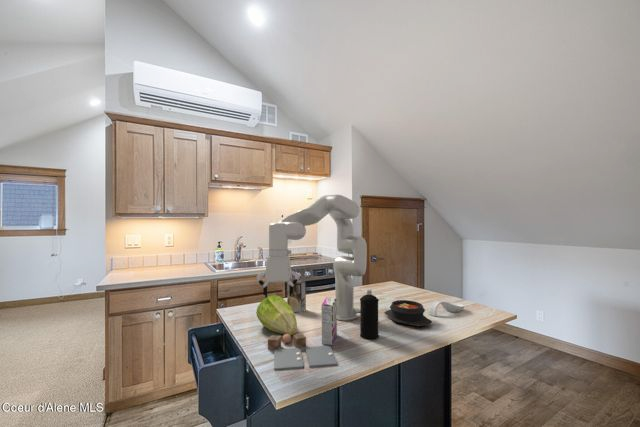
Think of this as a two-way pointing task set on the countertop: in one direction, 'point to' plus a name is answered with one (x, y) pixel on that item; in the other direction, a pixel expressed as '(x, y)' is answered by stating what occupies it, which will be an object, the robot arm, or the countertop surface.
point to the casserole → (408, 313)
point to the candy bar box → (329, 321)
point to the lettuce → (277, 315)
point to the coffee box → (297, 297)
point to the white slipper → (447, 305)
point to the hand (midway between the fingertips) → (278, 296)
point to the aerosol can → (369, 316)
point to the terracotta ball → (286, 338)
